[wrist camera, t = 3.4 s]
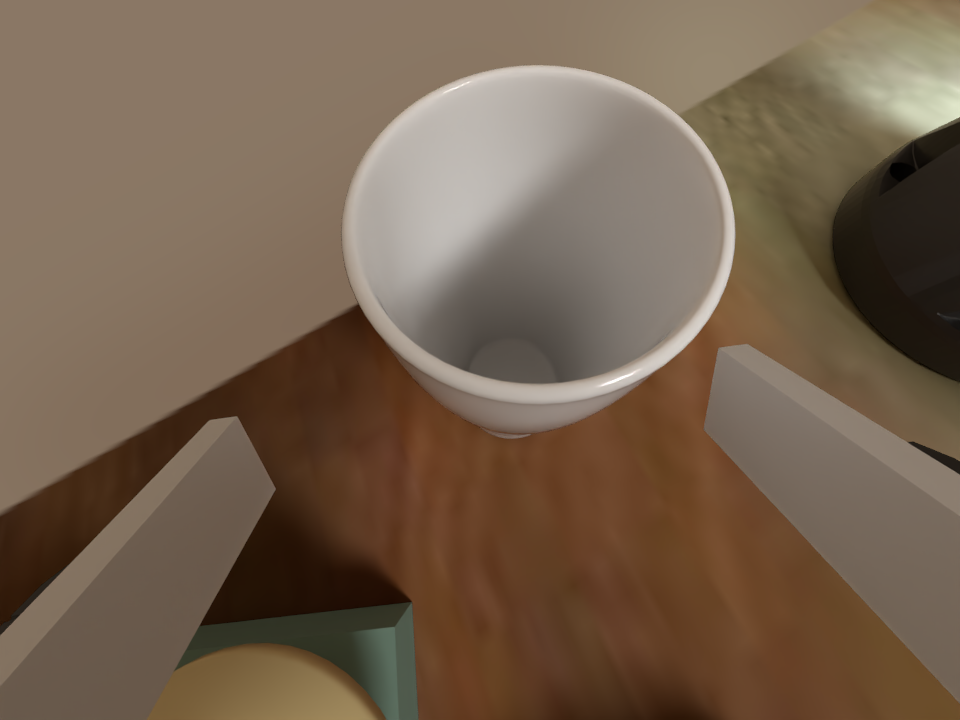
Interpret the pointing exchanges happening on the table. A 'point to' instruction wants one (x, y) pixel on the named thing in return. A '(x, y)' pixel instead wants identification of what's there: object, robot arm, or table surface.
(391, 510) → the table surface
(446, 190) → the white cup
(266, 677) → the balance
